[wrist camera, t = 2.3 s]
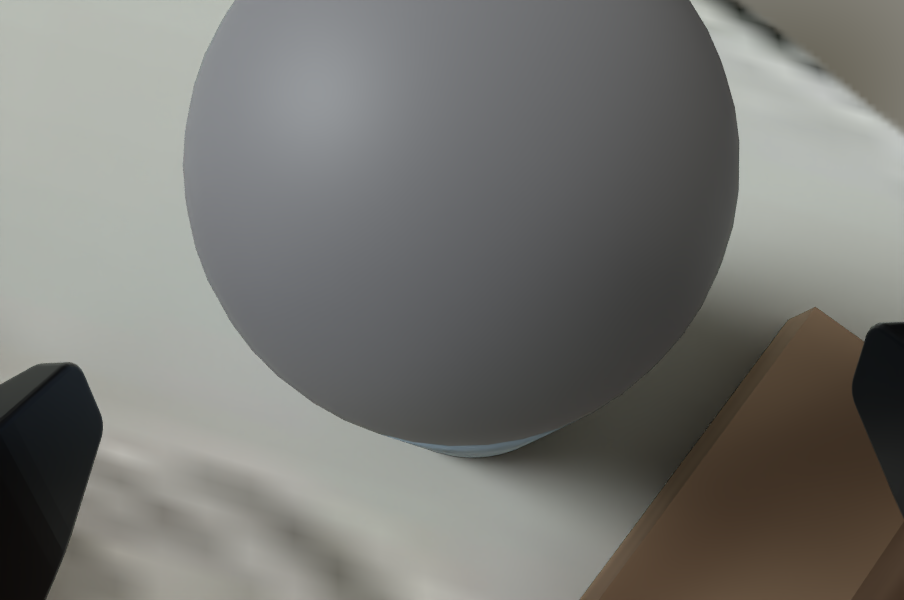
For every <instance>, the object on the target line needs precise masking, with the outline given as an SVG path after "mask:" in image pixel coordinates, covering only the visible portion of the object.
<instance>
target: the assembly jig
mask: <svg viewBox="0 0 904 600" xmlns="http://www.w3.org/2000/svg"><path fill="white" fill-rule="evenodd" d="M863 344H864V341H862V340H861V339H860V338H858V337H857V336H855V335H854V334H853V333H851V332H850V331H848V330H847V329H846V328H844V327H843V326H841V325H840V324H839V323H837V322H836V321H834V320H833V319H832V318H830V317H829V316H828V315H826V314H825V313H823V312H822V311H821V310H819V309H818V308H816V307H814V308H812V309H810V310H808V311H806V312H804V313H802V314H800V315H797V316H795V317H793V318H791V319H789V320H788V321H787V322H786V323H785V325H784V326H783V327H782V329H781V330H780V331H779V333H778V334H777V335H776V337H775V338H774V339H773V341H772V342H771V343H770V345H769V346H768V347H767V349H766V350H765V351H764V353H763V354H762V355H761V357H760V358H759V360H758V361H757V362H756V364H755V365H754V366H753V368H752V369H751V370H750V372H749V373H748V374H747V376H746V377H745V378H744V380H743V381H742V382H741V384H740V385H739V386H738V388H737V389H736V390H735V392H734V393H733V394H732V396H731V397H730V398H729V400H728V401H727V402H726V404H725V405H724V407H723V408H722V409H721V411H720V412H719V413H718V415H717V416H716V417H715V419H714V420H713V421H712V423H711V424H710V425H709V427H708V428H707V429H706V431H705V432H704V433H703V435H702V436H701V437H700V439H699V440H698V441H697V443H696V444H695V445H694V447H693V448H692V450H691V451H690V452H689V454H688V455H687V456H686V458H685V459H684V460H683V462H682V463H681V464H680V466H679V467H678V468H677V470H676V471H675V472H674V474H673V475H672V476H671V478H670V479H669V480H668V482H667V483H666V484H665V486H664V487H663V488H662V490H661V491H660V492H659V494H658V495H657V497H656V498H655V499H654V501H653V502H652V503H651V505H650V506H649V507H648V509H647V510H646V511H645V513H644V514H643V515H642V517H641V518H640V519H639V521H638V522H637V523H636V525H635V526H634V527H633V529H632V530H631V531H630V533H629V534H628V535H627V537H626V538H625V539H624V541H623V542H622V544H621V545H620V546H619V548H618V549H617V550H616V552H615V553H614V554H613V556H612V557H611V558H610V560H609V561H608V562H607V564H606V565H605V566H604V568H603V569H602V570H601V572H600V573H599V574H598V576H597V577H596V578H595V580H594V581H593V582H592V584H591V585H590V586H589V588H588V589H587V591H586V592H585V593H584V595H583V596H582V597H581V599H580V600H904V518H903V516H902V514H901V512H900V510H899V508H898V505H897V503H896V501H895V499H894V496H893V494H892V492H891V489H890V487H889V485H888V482H887V480H886V477H885V475H884V473H883V470H882V468H881V466H880V463H879V461H878V458H877V456H876V454H875V451H874V449H873V447H872V444H871V442H870V439H869V437H868V435H867V432H866V430H865V428H864V425H863V423H862V420H861V418H860V416H859V413H858V411H857V408H856V406H855V403H854V400H853V396H852V381H853V377H854V373H855V370H856V367H857V364H858V361H859V357H860V354H861V351H862V348H863Z"/></svg>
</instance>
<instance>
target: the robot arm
mask: <svg viewBox="0 0 904 600" xmlns="http://www.w3.org/2000/svg"><path fill="white" fill-rule="evenodd" d="M852 396H853V400H854V403H855V406H856V408H857V411H858V413H859V416H860V418H861V420H862V423H863V425H864V428H865V430H866V432H867V435H868V437H869V439H870V442H871V444H872V447H873V449H874V451H875V454H876V456H877V458H878V461H879V463H880V466H881V468H882V470H883V473H884V475H885V477H886V480H887V482H888V485H889V487H890V489H891V492H892V494H893V496H894V499H895V501H896V503H897V505H898V508H899V510H900V512H901V514H902V516H903V518H904V322H889V323H878V324H876V325H874V326H872V327H871V328H870V330H869V331H868V333H867V335H866V338H865V341H864V344H863V348H862V351H861V354H860V357H859V361H858V364H857V367H856V370H855V373H854V377H853V381H852ZM102 431H103V422H102V417H101V413H100V411H99V409H98V406H97V404H96V402H95V399H94V397H93V395H92V392H91V390H90V387H89V385H88V383H87V380H86V378H85V376H84V374H83V372H82V370H81V369H80V368H79V367H78V366H77V365H76V364H74V363H71V362H65V363H44V364H38V365H35V366H33V367H31V368H29V369H27V370H26V371H24V372H22V373H20V374H18V375H17V376H15V377H13V378H11V379H9V380H8V381H6V382H4V383H2V384H1V385H0V600H46V597H47V595H48V593H49V590H50V588H51V586H52V584H53V581H54V579H55V577H56V574H57V572H58V569H59V567H60V564H61V562H62V559H63V557H64V554H65V552H66V549H67V546H68V543H69V540H70V537H71V534H72V531H73V528H74V525H75V521H76V518H77V515H78V512H79V509H80V505H81V502H82V499H83V496H84V492H85V489H86V486H87V483H88V480H89V476H90V473H91V470H92V467H93V463H94V460H95V457H96V454H97V451H98V447H99V444H100V441H101V437H102Z"/></svg>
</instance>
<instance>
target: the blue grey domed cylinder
mask: <svg viewBox="0 0 904 600" xmlns="http://www.w3.org/2000/svg"><path fill="white" fill-rule="evenodd" d="M183 173H184V186H185V199H186V205H187V211H188V216H189V221H190V225H191V230H192V234H193V239H194V243H195V248H196V250H197V253H198V256H199V258H200V261H201V264H202V266H203V269H204V272H205V274H206V277H207V280H208V281H209V283H210V285H211V287H212V289H213V291H214V292H215V294H216V296H217V298H218V300H219V301H220V303H221V305H222V307H223V309H224V311H225V312H226V314H227V316H228V318H229V319H230V321H231V323H232V324H233V326H234V327H235V328H236V330H237V331H238V332H239V334H240V335H241V336H242V338H243V339H244V340H245V342H246V343H247V344H248V346H249V347H250V348H251V350H252V351H253V352H254V353H255V354H256V355H257V356H258V357H259V358H260V359H261V360H262V361H263V362H264V363H265V364H266V365H267V366H268V367H269V368H270V369H271V370H272V371H273V372H274V373H275V374H276V375H277V376H278V377H280V378H281V379H282V380H284V381H285V382H286V383H288V384H289V385H290V386H292V387H293V388H294V389H296V390H297V391H298V392H300V393H301V394H302V395H304V396H305V397H306V398H308V399H309V400H310V401H312V402H313V403H315V404H316V405H318V406H320V407H322V408H324V409H325V410H327V411H329V412H331V413H332V414H334V415H336V416H338V417H340V418H341V419H343V420H345V421H348V422H350V423H353V424H355V425H358V426H360V427H363V428H366V429H368V430H371V431H373V432H376V433H378V434H381V435H385V436H388V437H391V438H394V439H397V440H400V441H403V442H406V443H409V444H413V445H416V446H419V447H422V448H425V449H428V450H431V451H434V452H438V453H442V454H446V455H450V456H458V457H467V458H471V457H488V456H494V455H500V454H503V453H506V452H510V451H513V450H516V449H518V448H520V447H522V446H525V445H527V444H529V443H531V442H533V441H535V440H537V439H539V438H541V437H543V436H546V435H548V434H550V433H552V432H554V431H556V430H558V429H560V428H562V427H564V426H566V425H568V424H570V423H572V422H574V421H576V420H579V419H581V418H583V417H585V416H587V415H589V414H591V413H593V412H594V411H596V410H598V409H599V408H601V407H602V406H604V405H605V404H607V403H609V402H610V401H612V400H613V399H615V398H616V397H618V396H620V395H621V394H623V393H624V392H625V391H626V390H628V389H629V388H630V387H631V386H632V385H633V384H635V383H636V382H637V381H638V380H639V379H640V378H642V377H643V376H644V375H645V374H646V373H648V372H649V371H650V370H651V369H652V368H653V367H654V366H655V365H656V364H657V363H658V362H659V361H660V360H661V359H662V358H663V356H664V355H665V354H666V353H667V352H668V351H669V350H670V349H671V347H672V346H673V345H674V344H675V343H676V342H677V341H678V340H679V338H680V337H681V336H682V335H683V333H684V332H685V330H686V329H687V327H688V326H689V324H690V323H691V321H692V320H693V318H694V317H695V315H696V314H697V312H698V311H699V309H700V308H701V306H702V305H703V302H704V300H705V298H706V296H707V294H708V292H709V290H710V288H711V286H712V284H713V281H714V279H715V277H716V275H717V273H718V270H719V268H720V265H721V263H722V260H723V257H724V254H725V250H726V247H727V244H728V241H729V238H730V234H731V231H732V228H733V223H734V217H735V211H736V204H737V198H738V190H739V136H738V128H737V121H736V113H735V106H734V103H733V99H732V96H731V92H730V89H729V85H728V81H727V78H726V74H725V71H724V68H723V65H722V62H721V59H720V57H719V55H718V53H717V50H716V48H715V46H714V43H713V41H712V39H711V37H710V34H709V32H708V30H707V28H706V26H705V25H704V23H703V21H702V20H701V18H700V17H699V15H698V13H697V12H696V10H695V8H694V7H693V5H692V4H691V2H690V1H689V0H235V1H234V3H233V4H232V6H231V7H230V8H229V10H228V11H227V13H226V15H225V16H224V18H223V20H222V22H221V23H220V25H219V27H218V29H217V31H216V33H215V35H214V37H213V39H212V41H211V43H210V45H209V47H208V49H207V51H206V53H205V55H204V58H203V61H202V64H201V66H200V69H199V72H198V75H197V78H196V81H195V84H194V88H193V93H192V98H191V103H190V108H189V113H188V118H187V124H186V130H185V141H184V157H183Z"/></svg>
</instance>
